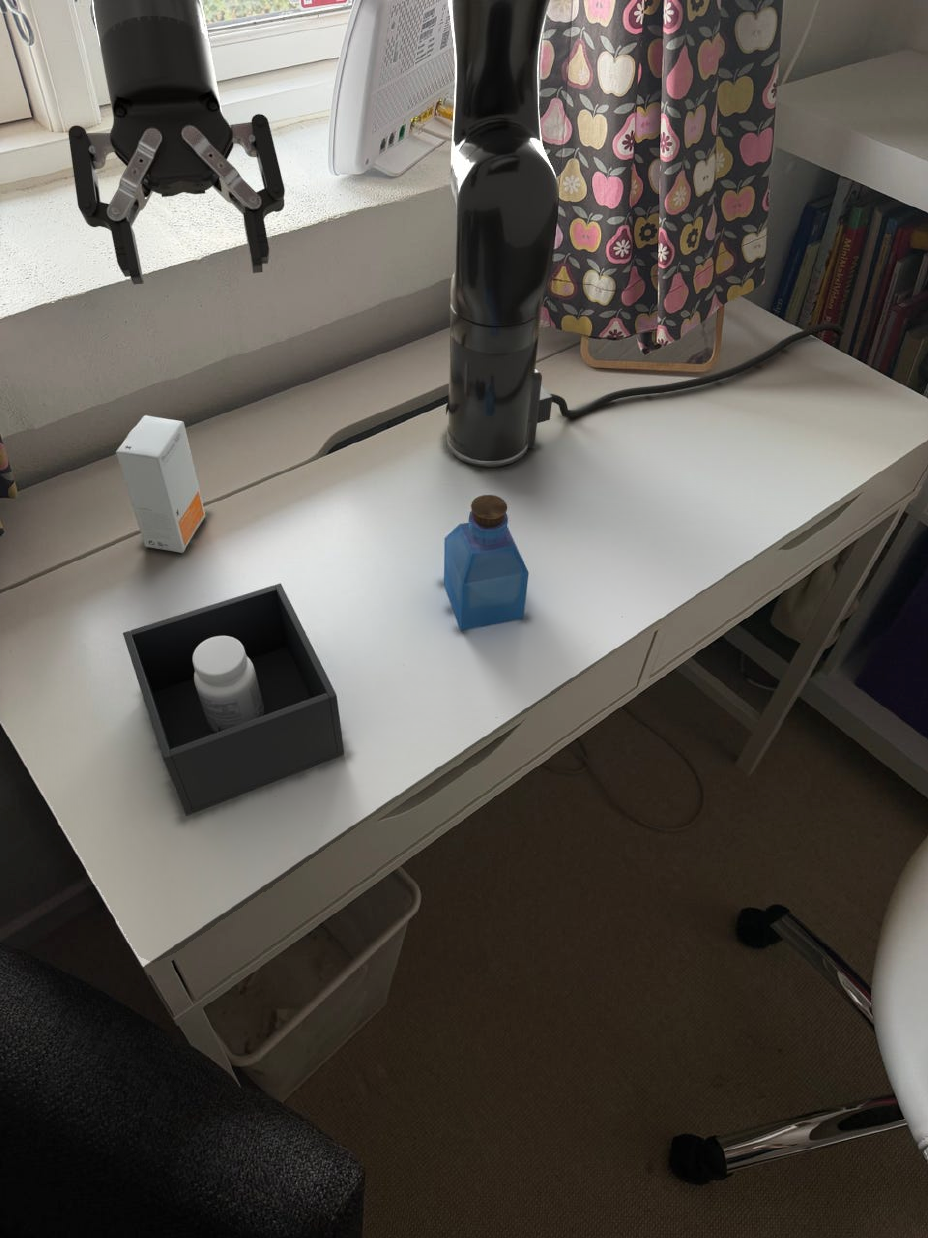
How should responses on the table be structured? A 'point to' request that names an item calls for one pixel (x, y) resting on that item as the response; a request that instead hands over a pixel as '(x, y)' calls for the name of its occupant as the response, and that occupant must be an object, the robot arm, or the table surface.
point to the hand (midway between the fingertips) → (198, 274)
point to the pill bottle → (226, 683)
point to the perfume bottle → (484, 567)
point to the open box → (288, 684)
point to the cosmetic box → (162, 483)
